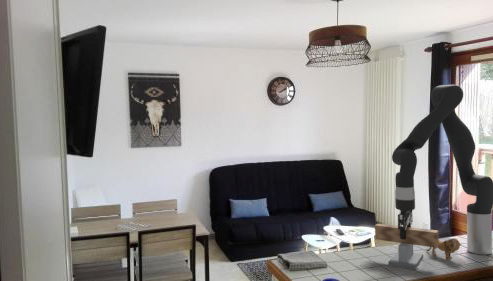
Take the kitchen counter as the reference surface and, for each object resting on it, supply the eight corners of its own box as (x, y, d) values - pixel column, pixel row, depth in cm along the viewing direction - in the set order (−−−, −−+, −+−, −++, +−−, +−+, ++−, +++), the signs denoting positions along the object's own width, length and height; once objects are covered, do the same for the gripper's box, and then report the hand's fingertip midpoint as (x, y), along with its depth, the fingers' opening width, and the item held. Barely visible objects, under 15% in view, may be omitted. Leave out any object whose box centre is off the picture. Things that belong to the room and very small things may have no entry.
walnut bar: (438, 245, 156) (438, 230, 156) (437, 247, 154) (436, 232, 153) (377, 237, 170) (377, 223, 170) (375, 239, 167) (374, 225, 167)
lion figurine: (463, 259, 162) (462, 238, 161) (456, 262, 159) (455, 240, 158) (429, 250, 174) (429, 230, 174) (422, 253, 171) (422, 233, 171)
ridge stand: (398, 253, 172) (398, 235, 171) (423, 257, 166) (422, 238, 166) (388, 265, 159) (388, 245, 158) (414, 269, 153) (414, 249, 153)
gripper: (410, 201, 153) (411, 242, 154) (418, 195, 165) (419, 233, 166) (390, 199, 157) (391, 239, 158) (399, 193, 169) (400, 231, 170)
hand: (405, 236), depth 162 cm, fingers open, 8 cm apart
